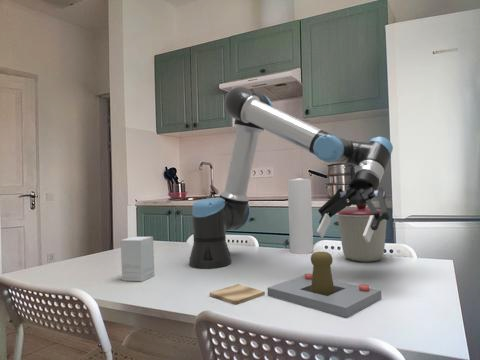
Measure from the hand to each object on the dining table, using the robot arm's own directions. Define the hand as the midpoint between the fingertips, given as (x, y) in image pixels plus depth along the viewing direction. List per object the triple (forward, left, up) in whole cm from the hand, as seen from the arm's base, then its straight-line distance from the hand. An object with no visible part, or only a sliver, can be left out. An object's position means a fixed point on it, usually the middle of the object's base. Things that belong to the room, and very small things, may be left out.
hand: (341, 236), depth 92 cm
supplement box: (-53, -31, -14) cm, 63 cm away
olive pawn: (0, -9, -14) cm, 17 cm away
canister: (-13, +36, -14) cm, 40 cm away
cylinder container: (-39, +34, -14) cm, 53 cm away
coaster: (-17, -22, -14) cm, 31 cm away
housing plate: (0, -9, -14) cm, 16 cm away
